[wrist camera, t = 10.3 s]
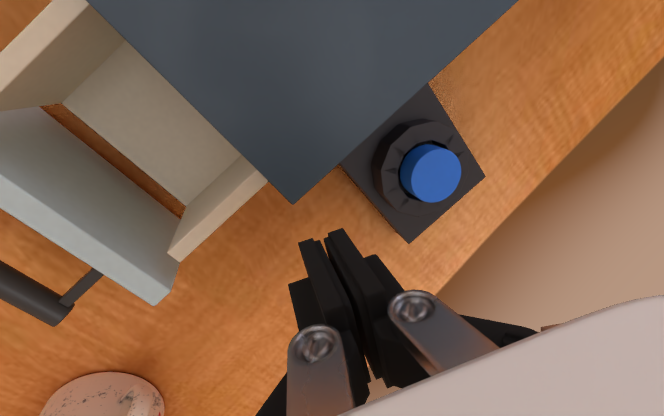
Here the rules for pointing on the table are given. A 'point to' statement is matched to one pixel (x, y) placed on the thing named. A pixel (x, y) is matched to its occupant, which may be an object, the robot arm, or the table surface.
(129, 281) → the drawer
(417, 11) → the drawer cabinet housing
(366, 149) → the panel
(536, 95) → the table surface
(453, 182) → the button
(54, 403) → the teacup with lid
